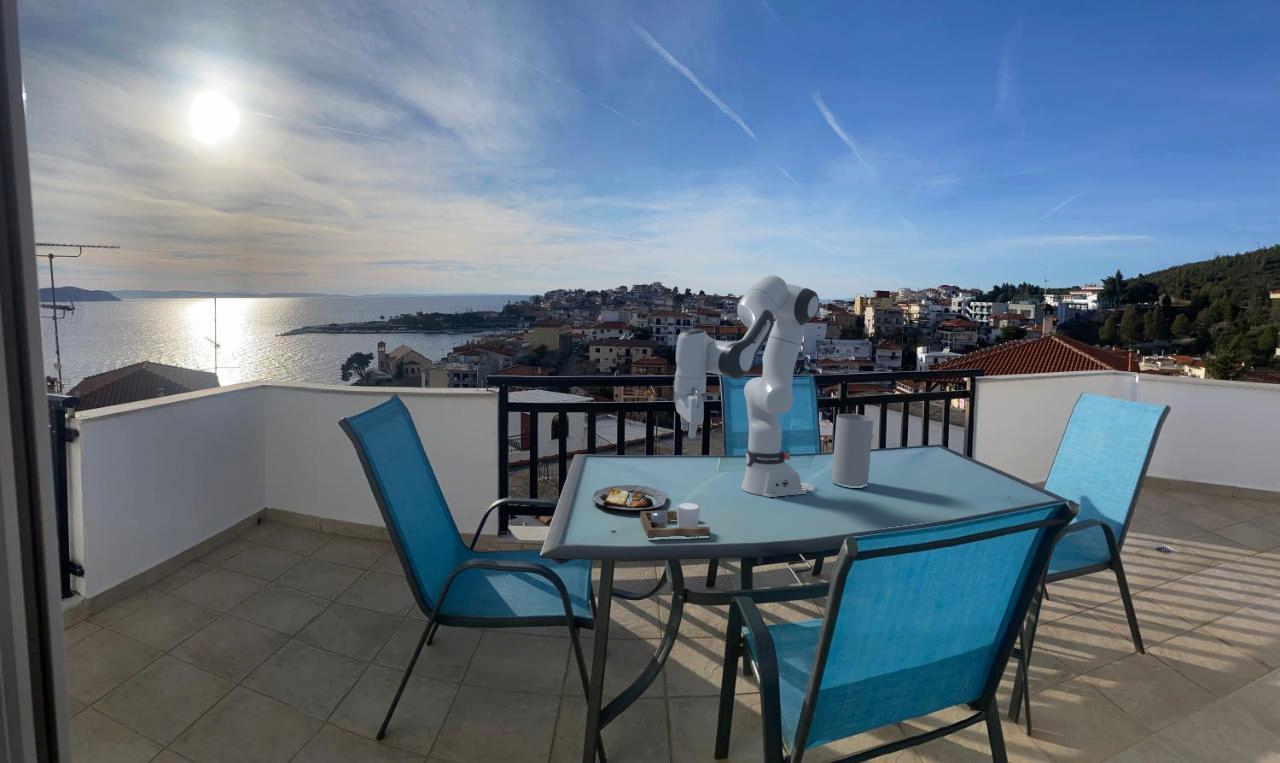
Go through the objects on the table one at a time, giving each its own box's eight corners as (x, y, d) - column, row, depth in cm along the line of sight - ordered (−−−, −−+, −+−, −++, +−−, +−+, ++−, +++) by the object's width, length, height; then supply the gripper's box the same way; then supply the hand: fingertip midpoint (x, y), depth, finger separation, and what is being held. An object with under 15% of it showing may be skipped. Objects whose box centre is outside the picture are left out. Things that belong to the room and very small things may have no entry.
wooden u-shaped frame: (696, 519, 179) (697, 509, 179) (709, 538, 165) (709, 528, 164) (640, 521, 176) (640, 511, 176) (648, 540, 162) (648, 530, 162)
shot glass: (674, 524, 175) (675, 501, 174) (697, 524, 175) (698, 501, 174) (677, 533, 168) (677, 509, 167) (701, 533, 168) (702, 510, 167)
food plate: (660, 518, 179) (661, 507, 178) (585, 512, 182) (585, 501, 182) (670, 494, 203) (670, 484, 203) (603, 489, 207) (603, 480, 207)
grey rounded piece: (664, 526, 173) (665, 510, 172) (668, 533, 168) (668, 516, 167) (649, 527, 172) (649, 510, 171) (652, 533, 167) (652, 516, 167)
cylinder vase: (849, 477, 227) (854, 413, 224) (875, 487, 216) (881, 419, 212) (824, 481, 222) (829, 415, 218) (849, 491, 211) (854, 421, 207)
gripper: (710, 392, 160) (708, 442, 162) (692, 381, 180) (690, 426, 182) (687, 391, 159) (685, 442, 161) (672, 381, 179) (670, 426, 181)
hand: (688, 433), depth 171 cm, fingers open, 8 cm apart
